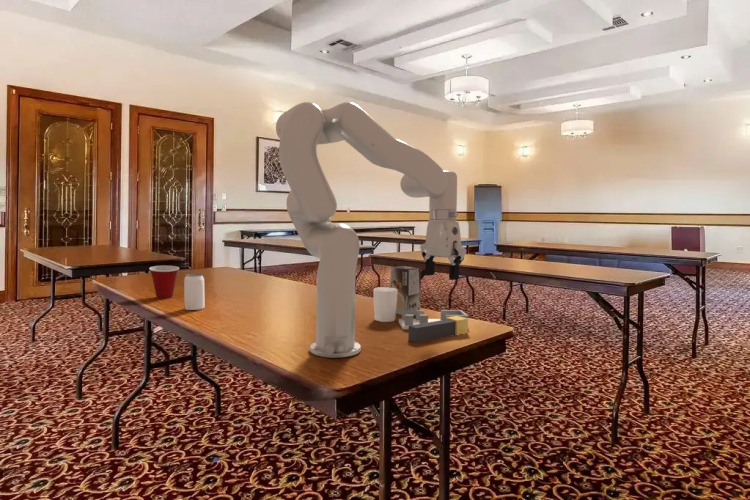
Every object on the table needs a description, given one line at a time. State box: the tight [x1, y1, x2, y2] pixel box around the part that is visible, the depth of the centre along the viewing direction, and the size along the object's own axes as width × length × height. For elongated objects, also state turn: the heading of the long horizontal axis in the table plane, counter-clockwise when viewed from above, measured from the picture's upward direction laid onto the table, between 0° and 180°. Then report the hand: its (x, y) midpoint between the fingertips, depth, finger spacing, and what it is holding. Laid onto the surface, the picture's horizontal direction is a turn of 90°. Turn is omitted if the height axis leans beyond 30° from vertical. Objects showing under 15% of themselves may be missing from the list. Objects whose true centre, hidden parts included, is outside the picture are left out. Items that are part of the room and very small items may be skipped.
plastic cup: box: [149, 265, 180, 299], centre depth 178 cm, size 11×11×12 cm
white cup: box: [373, 286, 398, 323], centre depth 146 cm, size 8×8×10 cm
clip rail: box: [398, 309, 470, 330], centre depth 140 cm, size 9×20×4 cm, turn 95°
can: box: [183, 273, 206, 311], centre depth 157 cm, size 6×6×12 cm
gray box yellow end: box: [407, 316, 469, 343], centre depth 127 cm, size 19×4×4 cm, turn 125°
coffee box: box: [390, 265, 422, 317], centre depth 156 cm, size 9×6×16 cm
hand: (441, 277), depth 127 cm, fingers open, 9 cm apart
